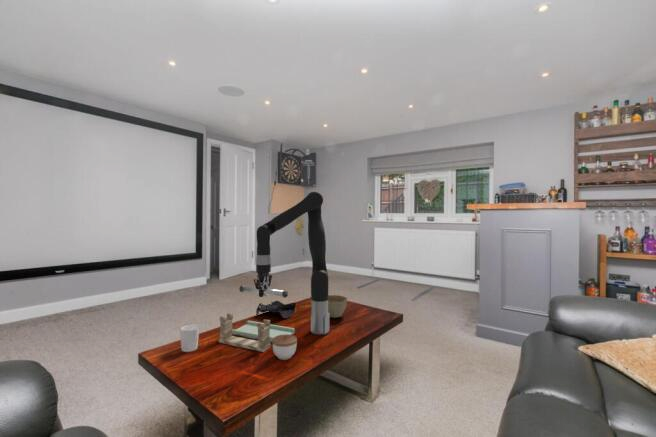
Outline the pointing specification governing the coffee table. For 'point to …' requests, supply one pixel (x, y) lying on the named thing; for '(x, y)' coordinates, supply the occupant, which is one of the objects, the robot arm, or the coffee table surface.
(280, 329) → the mat tray
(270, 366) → the coffee table surface
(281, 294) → the steel rod
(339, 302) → the planter bowl
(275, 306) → the grey mechanical device
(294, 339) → the lidded jar
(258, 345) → the rack
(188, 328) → the white cup
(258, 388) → the coffee table surface
